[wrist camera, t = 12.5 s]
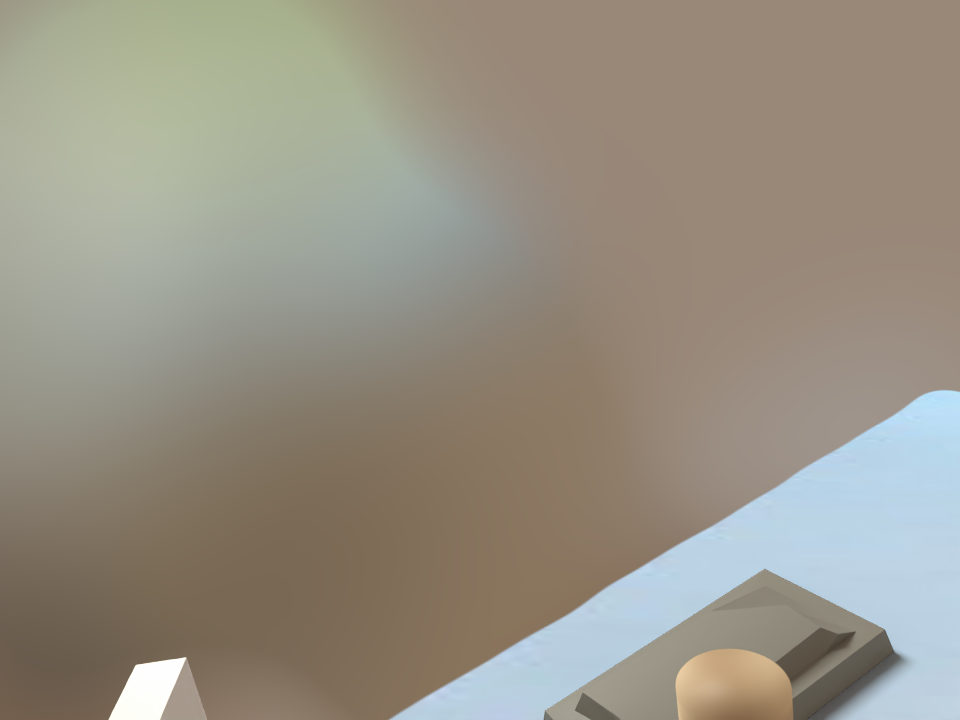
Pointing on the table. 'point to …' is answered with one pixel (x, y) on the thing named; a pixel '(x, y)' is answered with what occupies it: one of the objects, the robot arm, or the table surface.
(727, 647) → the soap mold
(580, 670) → the table surface
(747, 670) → the oak leg
